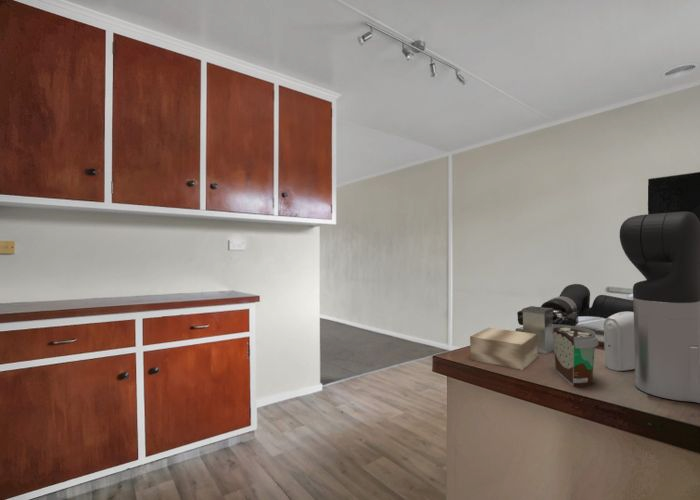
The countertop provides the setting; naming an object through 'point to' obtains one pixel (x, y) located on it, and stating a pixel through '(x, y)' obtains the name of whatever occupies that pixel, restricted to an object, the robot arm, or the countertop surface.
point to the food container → (574, 353)
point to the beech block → (504, 347)
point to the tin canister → (539, 326)
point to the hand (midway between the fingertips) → (536, 323)
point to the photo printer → (619, 341)
